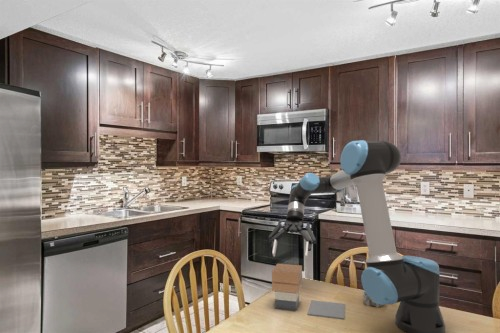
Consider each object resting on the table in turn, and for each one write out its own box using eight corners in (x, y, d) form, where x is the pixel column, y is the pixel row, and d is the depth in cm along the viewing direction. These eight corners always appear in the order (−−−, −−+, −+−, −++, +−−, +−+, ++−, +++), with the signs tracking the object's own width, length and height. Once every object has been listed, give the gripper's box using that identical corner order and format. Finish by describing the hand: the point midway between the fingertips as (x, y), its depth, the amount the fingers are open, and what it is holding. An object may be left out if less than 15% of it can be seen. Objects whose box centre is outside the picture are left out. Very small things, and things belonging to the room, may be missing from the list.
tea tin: (299, 302, 139) (299, 277, 139) (296, 310, 131) (296, 284, 131) (279, 300, 141) (279, 275, 141) (274, 308, 133) (274, 282, 133)
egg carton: (382, 309, 133) (382, 298, 133) (361, 305, 136) (361, 295, 136) (385, 299, 143) (385, 289, 142) (365, 296, 146) (365, 286, 146)
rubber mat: (345, 304, 136) (345, 303, 136) (344, 319, 124) (344, 318, 124) (311, 301, 140) (311, 300, 140) (307, 315, 127) (307, 313, 127)
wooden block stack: (302, 284, 139) (302, 265, 139) (298, 293, 130) (298, 273, 130) (277, 281, 142) (277, 263, 142) (271, 290, 132) (271, 270, 132)
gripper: (324, 220, 157) (321, 262, 143) (269, 217, 164) (261, 258, 150) (323, 210, 152) (320, 253, 138) (267, 208, 159) (258, 248, 145)
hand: (289, 256), depth 144 cm, fingers open, 13 cm apart
